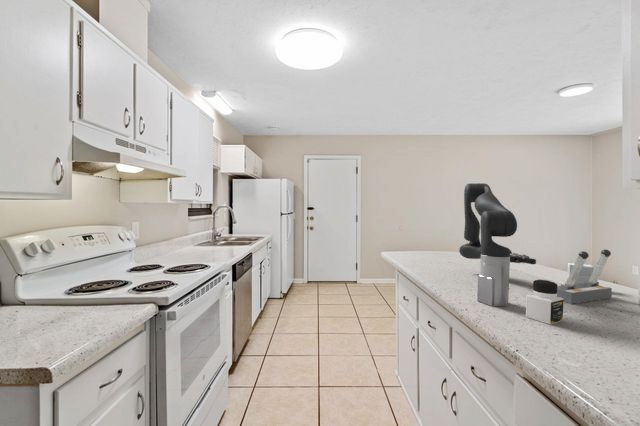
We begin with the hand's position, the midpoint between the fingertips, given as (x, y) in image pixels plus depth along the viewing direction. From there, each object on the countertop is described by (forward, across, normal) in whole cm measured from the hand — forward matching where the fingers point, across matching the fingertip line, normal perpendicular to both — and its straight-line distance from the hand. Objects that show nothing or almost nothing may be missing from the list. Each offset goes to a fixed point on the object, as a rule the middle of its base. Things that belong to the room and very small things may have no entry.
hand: (534, 261), depth 127 cm
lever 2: (+13, +14, +7) cm, 20 cm away
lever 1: (+13, 0, +7) cm, 15 cm away
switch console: (+13, +7, +12) cm, 19 cm away
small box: (+4, +23, +12) cm, 26 cm away
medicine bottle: (+24, -30, +12) cm, 40 cm away
